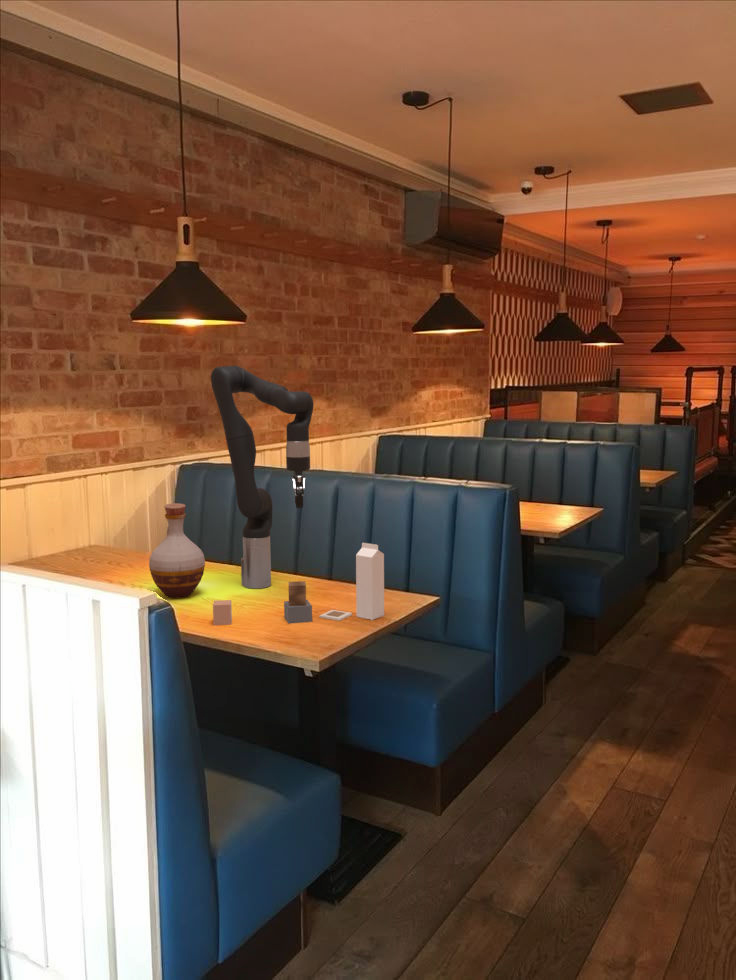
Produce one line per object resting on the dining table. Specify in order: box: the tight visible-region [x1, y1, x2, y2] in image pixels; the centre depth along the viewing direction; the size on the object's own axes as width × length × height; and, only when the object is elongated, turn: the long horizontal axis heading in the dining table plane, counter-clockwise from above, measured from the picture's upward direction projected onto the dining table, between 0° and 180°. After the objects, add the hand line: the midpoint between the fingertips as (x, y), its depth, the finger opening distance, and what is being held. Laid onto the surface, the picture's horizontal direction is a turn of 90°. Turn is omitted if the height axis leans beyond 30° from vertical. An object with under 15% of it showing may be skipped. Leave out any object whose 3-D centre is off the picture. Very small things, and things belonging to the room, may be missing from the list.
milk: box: [355, 542, 385, 621], centre depth 246 cm, size 6×6×22 cm
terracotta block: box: [212, 599, 233, 626], centre depth 242 cm, size 5×5×6 cm
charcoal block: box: [283, 599, 313, 625], centre depth 245 cm, size 7×7×5 cm
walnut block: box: [287, 580, 307, 606], centre depth 244 cm, size 5×5×6 cm
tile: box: [319, 609, 353, 622], centre depth 248 cm, size 7×7×1 cm
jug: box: [148, 502, 206, 599], centre depth 272 cm, size 20×18×30 cm
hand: (299, 505), depth 265 cm, fingers open, 8 cm apart
